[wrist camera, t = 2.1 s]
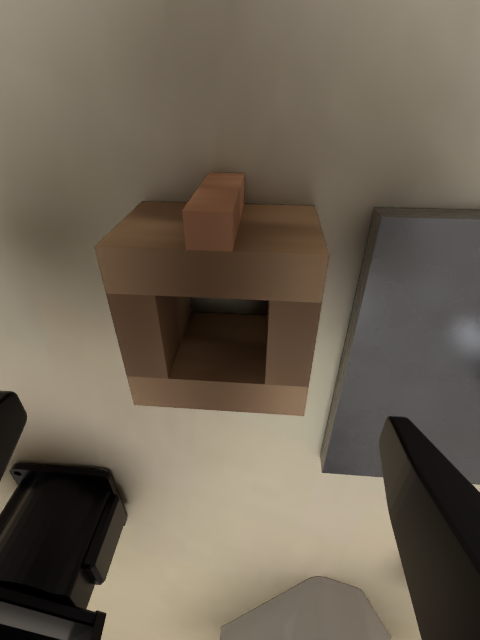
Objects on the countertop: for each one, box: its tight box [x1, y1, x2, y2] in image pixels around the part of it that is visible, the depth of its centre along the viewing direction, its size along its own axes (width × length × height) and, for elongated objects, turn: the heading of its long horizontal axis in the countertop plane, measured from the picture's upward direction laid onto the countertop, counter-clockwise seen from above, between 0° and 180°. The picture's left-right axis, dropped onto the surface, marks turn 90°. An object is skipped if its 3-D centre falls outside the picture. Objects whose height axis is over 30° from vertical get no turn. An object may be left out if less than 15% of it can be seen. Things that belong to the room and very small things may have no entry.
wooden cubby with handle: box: [95, 173, 329, 416], centre depth 12 cm, size 6×7×4 cm
